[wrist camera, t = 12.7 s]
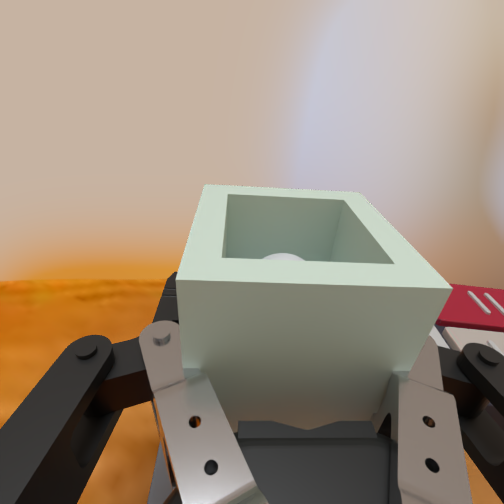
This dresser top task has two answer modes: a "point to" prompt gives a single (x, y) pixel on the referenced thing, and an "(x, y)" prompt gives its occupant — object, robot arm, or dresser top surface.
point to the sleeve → (301, 304)
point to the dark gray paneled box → (472, 324)
